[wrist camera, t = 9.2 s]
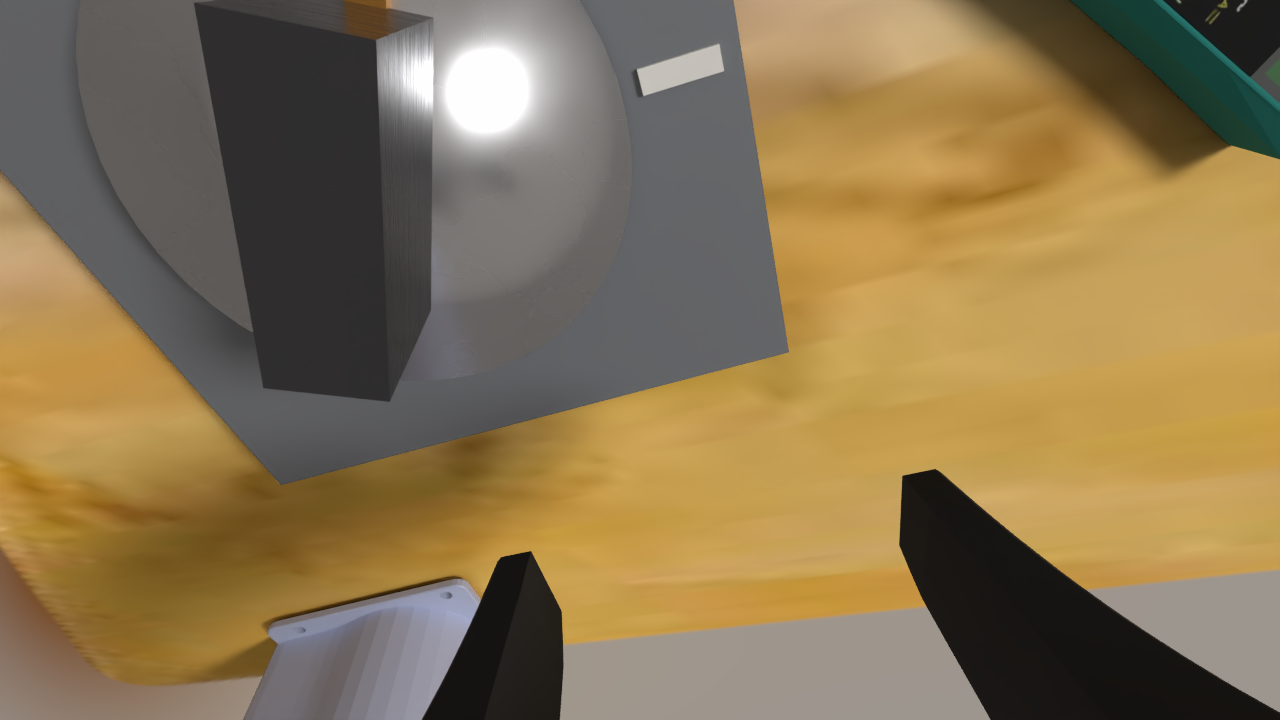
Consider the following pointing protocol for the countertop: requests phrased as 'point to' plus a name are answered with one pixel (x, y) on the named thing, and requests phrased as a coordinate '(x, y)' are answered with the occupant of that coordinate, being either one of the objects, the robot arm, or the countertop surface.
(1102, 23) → the digital multimeter
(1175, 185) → the countertop surface
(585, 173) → the dial
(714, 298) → the dial panel
